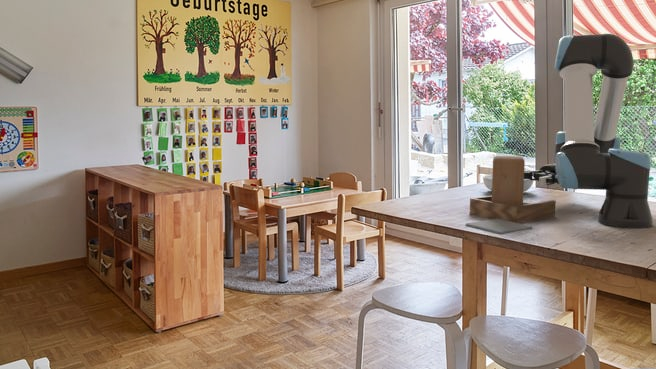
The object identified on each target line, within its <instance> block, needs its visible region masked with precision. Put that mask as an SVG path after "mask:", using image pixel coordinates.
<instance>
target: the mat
mask: <svg viewBox="0 0 656 369" xmlns="http://www.w3.org/2000/svg"><path fill="white" fill-rule="evenodd" d="M466 226H467V227H471V228H475V229H479V230H482V231H483V230H484V231H487V232H491V233H495V234H499V235H502V234H508V233H513V232H519V231H524V230H530V229H533V226H532V225H528V224H523V223H515V222H510V221H506V220H501V219H486V220H480V221H479V220H478V221H473V222H467V223H465V227H466Z"/></svg>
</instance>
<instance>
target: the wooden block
mask: <svg viewBox="0 0 656 369" xmlns="http://www.w3.org/2000/svg"><path fill="white" fill-rule="evenodd" d="M525 163H526V162H525V159H524V157H523V156H521V155H520V156H515V155H513V156H511V155H510V156H506V155H503V156H502V155H501V156H500V155H495V156H494V157H493V159H492V174H491V175H492V190H491V196H492V202H496V203H501V204H506V205H512V206H517V205H523V201H524V192H525V191H524V171H525V166H526V165H525ZM523 191H524V192H523Z"/></svg>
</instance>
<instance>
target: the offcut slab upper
mask: <svg viewBox="0 0 656 369" xmlns="http://www.w3.org/2000/svg"><path fill="white" fill-rule="evenodd" d="M530 203H537V202H536V201H529V200H523V204H530Z"/></svg>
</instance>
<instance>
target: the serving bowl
mask: <svg viewBox="0 0 656 369" xmlns="http://www.w3.org/2000/svg"><path fill="white" fill-rule="evenodd" d="M492 175H493V174H486V175H483V176H482V180H483V184H484V186H485V187H486V188H487V189H488V190H490V191H492ZM532 179H535V178H534V177H533V176H532ZM534 181H535V180H529V179H524V191H523V193H524V192H526V191H528V190H529V189H530V188H531V187H532V186H533V183H534Z"/></svg>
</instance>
